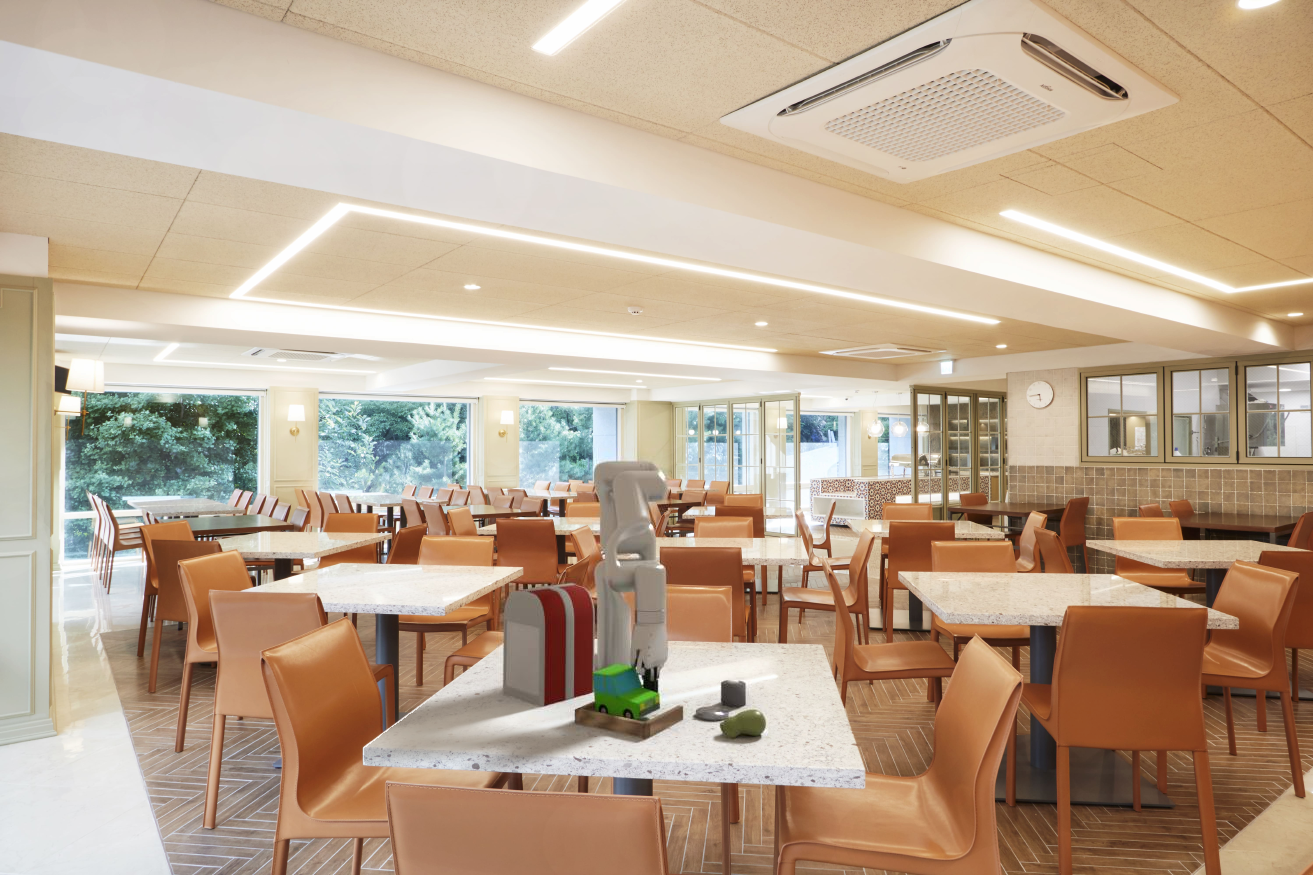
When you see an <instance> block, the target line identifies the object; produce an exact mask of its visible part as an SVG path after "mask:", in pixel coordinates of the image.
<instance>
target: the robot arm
mask: <svg viewBox="0 0 1313 875" xmlns="http://www.w3.org/2000/svg"><path fill="white" fill-rule="evenodd" d="M593 485H594V489H595V493H596V496H597V498H598V503H599V511H600V512H599V542H600V544H599V545H600V548H601V551H602V552H603V553H604V560H601V561H599V562H598V563H597V564H596V566H595V567H594V574H593V575H594V582H595V583H594V584H595V589H596V605H597V606H596V607H597V609H596V611H597V615H596V616H597V623H596V624H597V625H596V626H597V627H596V628H597V631H596V632H597V633H596V636H597V637H596V638H597V640H596V641H597V642H596V646H597V647H596V651H597V652H596V653H595V652H594V672H596V671H599V670H602V669H604V668H607V667H610V666H612V665H615V664H619V665H626V666H632V667H636V674H637V675H638V676H641V680H642V685H643V688H645V689H648V690H651V691H653V692H656V693H659V679H660V673H661V672H660V671H661V669H663V668H664V667H665V663H666V662H667V661H668V657H669V645H668V632H667V631H668V630H667V570H666V567H665V566H664V565H663V564H661V563H660V562H659V561H658V560H657V537H656V530H655V528H654V525H653V524H652V520H651V516H650V515H651V514H650V509H649V503H662V502H664V501H665V500H666V498H667V497H668V496H667V495H668V491H669V490H668V489H669V488H668V481H667V479H666V476H665V474H664V473H663V471H662V470H661V469H660V467H658V465H656V464H655V463H654V462H652V461H645V460H643V461H640V460H639V461H638V460H636V461H635V460H634V461H633V460H610V461H602V462H599V463H598V464H596V465H595V467H594V470H593ZM618 555H637V556H638V557H637V558H635V557H634V558H618ZM626 593H633V594H634V602H633V604H634V607H633V608H634V610H633V611H634V618H633V620H634V621H633V627H632V611H631V610H632V609H631V606H630V604H629V603H628V601H627V600H626V599H625V598H624V597H623V594H626ZM631 628H632V629H631Z"/></svg>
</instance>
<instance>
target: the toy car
mask: <svg viewBox="0 0 1313 875" xmlns="http://www.w3.org/2000/svg"><path fill="white" fill-rule="evenodd" d="M636 670H637V667H632V666H626V665H619V664H615V665H612V666H610V667H607V668H604V669H602V670H599V671H596V672H594V673H593V684H594V694H593V695H594V696H593V697H594V701H595V706H596V711H597V712H600V713H604V714H609V715H614V716H619V717H624V718H629V719H633V720H640V719H642V718H643V717H646V716H648V715H650V714H653V713H654V712H656V711H658V710H661V702H660V701H661V700H660V693H659V692H658V693H656V692H653V691H651V690H648V689H645V688H643V683H642V681H641V679H640V675H637V674H636Z"/></svg>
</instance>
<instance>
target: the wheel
mask: <svg viewBox="0 0 1313 875" xmlns="http://www.w3.org/2000/svg"><path fill="white" fill-rule="evenodd" d="M746 687H747V683H746V682H744V681H743V680H738V679H731V678H730V679H728V680H727V679H726V680H722V681H721V682H720V705H721V706H723V707H725V708H735V709H737V708H743V707H745V706H746V705H747V704H746V701H747V699H746V698H747V695H746V693H747V692H746V691H747V690H746Z"/></svg>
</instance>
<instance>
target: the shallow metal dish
mask: <svg viewBox="0 0 1313 875" xmlns="http://www.w3.org/2000/svg"><path fill="white" fill-rule="evenodd" d="M729 711H730V710H728V709H727V708H726V707H725V708H724V707H722V706H714V705H713V706H702V707H699V708H697V709H696V710H695V717H696V718H697V719H699V720H702V721H706V722H707V721H708V722H709V721H710V722H719V721H720V722H721V721H724V720H725V719H726V718H728V717H730V715H729Z"/></svg>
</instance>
